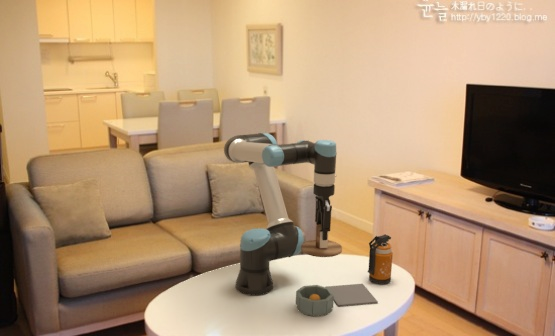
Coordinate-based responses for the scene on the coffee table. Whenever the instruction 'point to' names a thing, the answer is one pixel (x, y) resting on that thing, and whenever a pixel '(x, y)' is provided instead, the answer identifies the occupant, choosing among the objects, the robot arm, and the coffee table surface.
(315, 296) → the orange ball
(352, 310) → the coffee table surface
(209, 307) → the coffee table surface
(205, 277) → the coffee table surface
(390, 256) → the canister
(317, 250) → the walnut lid
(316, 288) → the slate bowl
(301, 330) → the coffee table surface
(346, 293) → the rubber mat
